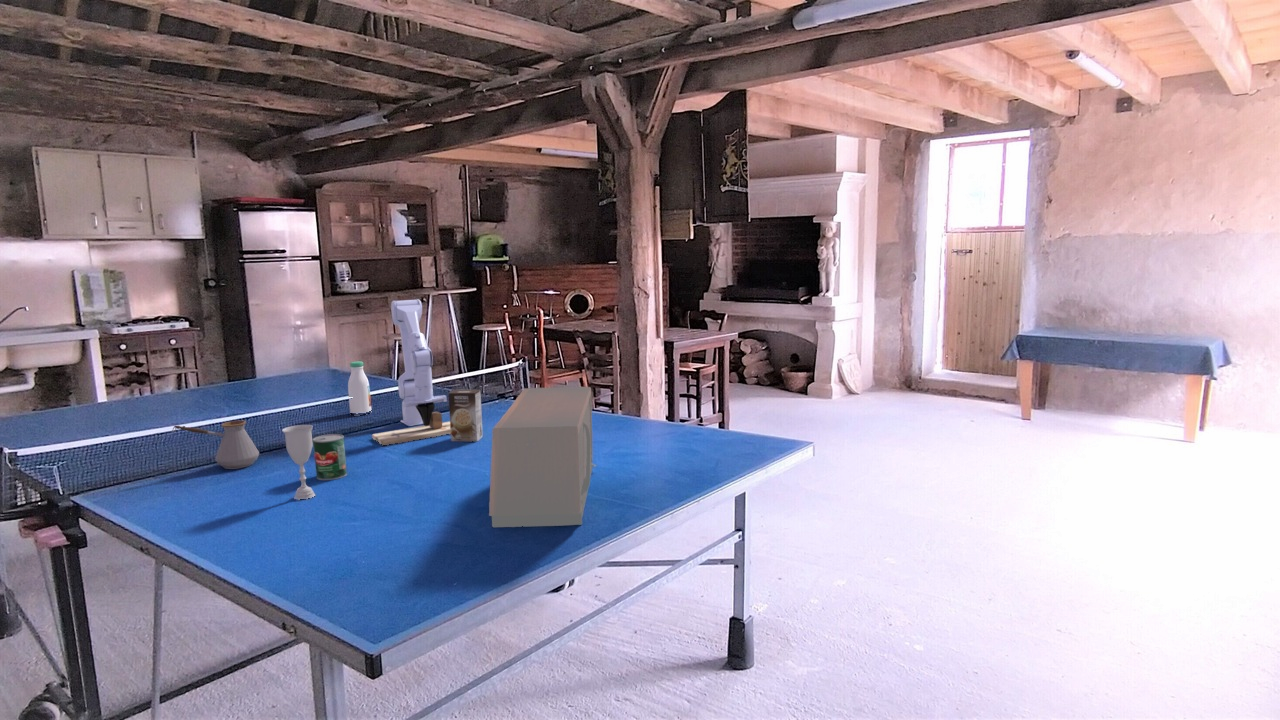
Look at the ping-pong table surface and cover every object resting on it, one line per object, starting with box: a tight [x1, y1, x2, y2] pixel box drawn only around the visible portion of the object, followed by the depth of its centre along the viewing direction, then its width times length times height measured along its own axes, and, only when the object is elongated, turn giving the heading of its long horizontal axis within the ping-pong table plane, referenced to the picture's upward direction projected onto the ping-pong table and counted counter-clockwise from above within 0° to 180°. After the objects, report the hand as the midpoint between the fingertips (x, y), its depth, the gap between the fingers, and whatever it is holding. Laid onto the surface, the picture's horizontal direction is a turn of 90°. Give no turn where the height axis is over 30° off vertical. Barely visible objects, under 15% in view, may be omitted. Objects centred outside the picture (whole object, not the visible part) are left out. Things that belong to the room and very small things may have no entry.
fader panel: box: [371, 420, 451, 446], centre depth 250 cm, size 12×28×2 cm, turn 126°
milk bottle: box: [347, 361, 372, 414], centre depth 283 cm, size 8×8×20 cm
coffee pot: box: [171, 420, 260, 470], centre depth 216 cm, size 21×12×15 cm, turn 135°
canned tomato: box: [312, 433, 348, 481], centre depth 206 cm, size 8×8×11 cm
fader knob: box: [429, 411, 443, 429], centre depth 252 cm, size 4×3×5 cm
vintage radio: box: [488, 386, 597, 528], centre depth 184 cm, size 45×22×24 cm, turn 178°
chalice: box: [281, 424, 316, 501], centre depth 189 cm, size 7×7×18 cm
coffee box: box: [448, 388, 484, 443], centre depth 242 cm, size 9×6×16 cm
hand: (426, 425), depth 251 cm, fingers closed
